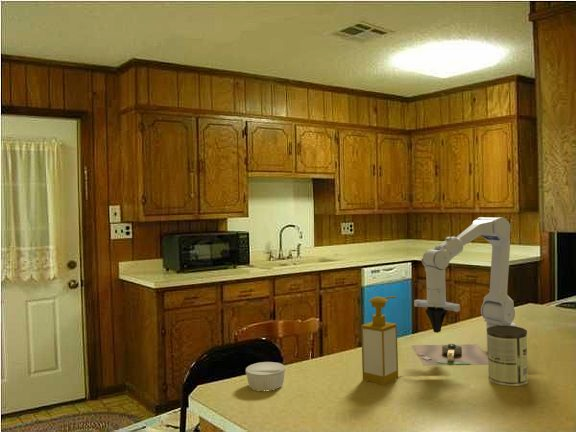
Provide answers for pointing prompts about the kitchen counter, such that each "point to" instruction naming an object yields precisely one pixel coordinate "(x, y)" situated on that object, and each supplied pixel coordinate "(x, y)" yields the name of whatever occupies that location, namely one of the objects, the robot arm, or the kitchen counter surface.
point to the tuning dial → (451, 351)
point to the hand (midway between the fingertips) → (437, 331)
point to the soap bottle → (379, 347)
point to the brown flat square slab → (469, 356)
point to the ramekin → (265, 375)
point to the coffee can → (507, 355)
